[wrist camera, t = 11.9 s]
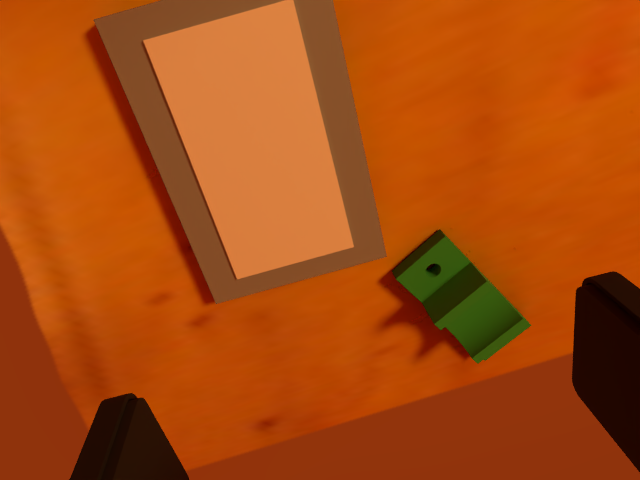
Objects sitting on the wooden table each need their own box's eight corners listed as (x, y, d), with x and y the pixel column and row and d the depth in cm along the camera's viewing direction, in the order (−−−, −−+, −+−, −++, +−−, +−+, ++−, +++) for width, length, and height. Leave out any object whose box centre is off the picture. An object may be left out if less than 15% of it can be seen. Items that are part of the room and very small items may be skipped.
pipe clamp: (551, 346, 33) (500, 384, 34) (525, 315, 37) (479, 351, 38) (460, 253, 29) (405, 300, 30) (439, 228, 32) (390, 272, 33)
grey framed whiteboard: (100, 19, 25) (92, 19, 23) (320, -43, 25) (323, -46, 23) (217, 294, 33) (215, 305, 32) (382, 248, 33) (387, 257, 31)
